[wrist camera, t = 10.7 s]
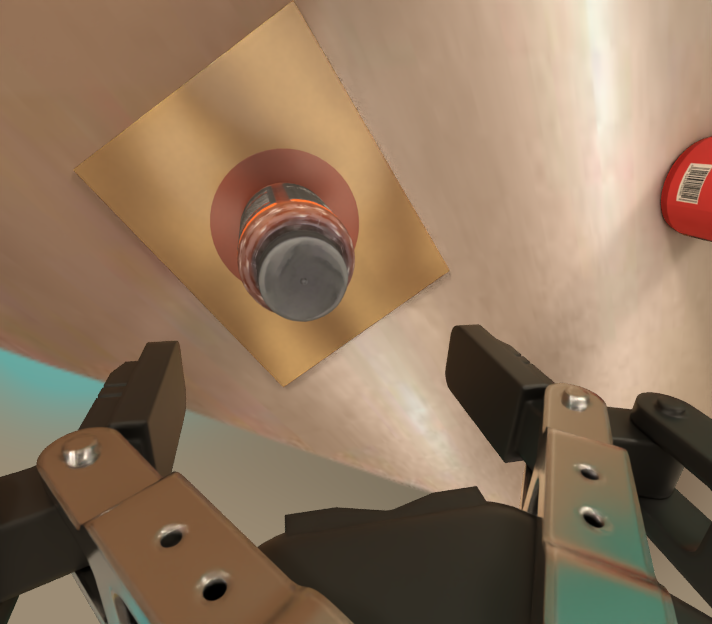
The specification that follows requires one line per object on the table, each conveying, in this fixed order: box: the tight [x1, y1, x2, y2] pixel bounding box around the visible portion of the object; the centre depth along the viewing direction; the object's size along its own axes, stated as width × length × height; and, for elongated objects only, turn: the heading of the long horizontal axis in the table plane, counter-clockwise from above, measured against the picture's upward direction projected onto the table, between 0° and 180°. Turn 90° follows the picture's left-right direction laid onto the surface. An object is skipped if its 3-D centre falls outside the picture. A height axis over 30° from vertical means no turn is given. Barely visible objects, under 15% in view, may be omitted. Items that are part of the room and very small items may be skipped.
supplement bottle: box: [237, 182, 355, 322], centre depth 23 cm, size 6×6×11 cm
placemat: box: [74, 1, 449, 387], centre depth 29 cm, size 16×20×1 cm
